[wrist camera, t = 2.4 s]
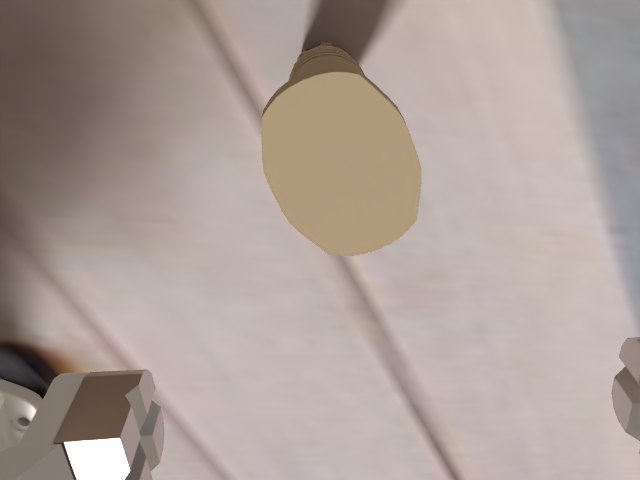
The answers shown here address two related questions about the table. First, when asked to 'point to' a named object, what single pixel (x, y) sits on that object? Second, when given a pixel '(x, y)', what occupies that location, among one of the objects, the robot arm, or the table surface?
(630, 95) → the table surface
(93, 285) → the table surface
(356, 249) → the handle
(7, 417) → the robot arm
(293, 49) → the table surface
